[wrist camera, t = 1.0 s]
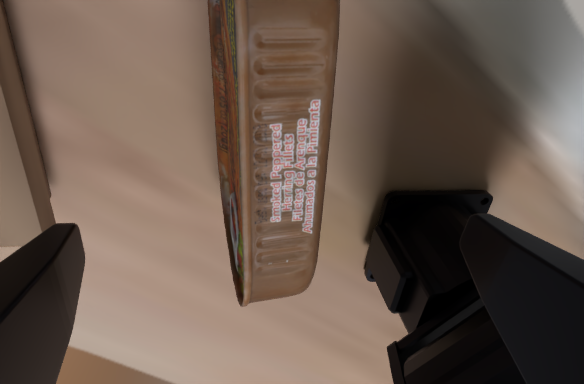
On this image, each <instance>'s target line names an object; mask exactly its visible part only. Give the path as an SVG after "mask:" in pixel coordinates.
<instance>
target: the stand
mask: <svg viewBox="0 0 584 384" xmlns="http://www.w3.org/2000/svg"><path fill="white" fill-rule="evenodd" d="M50 197H51V193H50V189H49V185H48V181H47V177H46V173H45V169H44V165H43V161H42V157H41V153H40V149H39V145H38V141H37V137H36V133H35V128H34V124H33V120H32V116H31V112H30V108H29V104H28V100H27V96H26V92H25V88H24V84H23V80H22V76H21V72H20V68H19V64H18V60H17V56H16V52H15V48H14V44H13V40H12V36H11V32H10V28H9V24H8V20H7V16H6V12H5V8H4V4H3V0H0V247H15V246H24V245H25V244H27V243H28V242H29V241H31V240H32V239H34V238H35V237H36V236H38V235H39V234H41V233H42V232H43V231H45V230H46V229H48V228H49V227H50V226H52V225H54V224H56V222H55V218H54V214H53V210H52V206H51V203H50Z"/></svg>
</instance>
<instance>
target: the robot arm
mask: <svg viewBox="0 0 584 384" xmlns="http://www.w3.org/2000/svg"><path fill="white" fill-rule="evenodd" d="M394 199H397V200H396V201H395V202H392V201H393V200H394ZM482 199H483V200H482ZM481 200H482V201H481ZM492 201H493V197H492V195H491V194H490V193H489V192H487V191H485V190H457V191H392V192H390V193H388V194H387V195H386V197H385V199H384V202H383V206H382V210H381V213H380V217H379V221H378V224H377V226H376V227H375V228H374V230H373V234H372V238H371V241H370V245H369V249H368V252H367V256H366V262H367V265H366V268H365V276H366V278H367V280H368V281H370V282H376V284H377V286H378V288H379V290H380V292H381V294H382V296H383V299H384V301H385V303H386V305H387V307H388V309H389V310H390V311H391V312H392V313H393V314H394V313H399V315H400V317H401V319H402V321H403V323H404V326H405V328H406V330H407V332H408V335H406V336H405V337H403V338H402V339H401V340H399V341H398V342H397V341H395V342H393V343H392V344H390V345H389V346H387V352H388V357H389V362H390V368H391V373H392V378H393V382H394V384H584V260H583V259H581V258H579V257H577V256H575V255H573V254H571V253H569V252H567V251H565V250H562V249H560V248H558V247H556V246H554V245H552V244H550V243H548V242H546V241H544V240H542V239H540V238H538V237H536V236H534V235H532V234H530V233H528V232H526V231H524V230H522V229H519V228H517V227H515V226H513V225H511V224H509V223H507V222H505V221H503V220H501V219H499V218H497V217H495V216H493V215H491V214H487V212H488V210H489V208H490V206H491V203H492ZM84 266H85V252H84V248H83V243H82V239H81V234H80V230H79V227H78V225H77V224H75V223H57V224H54V225H52V226H50V227H49V228H48V229H46V230H45V231H43V232H42V233H41V234H39V235H38V236H36V237H35V238H34V239H32V240H31V241H29V242H28V243H27V244H25V245H24V246H22V247H21V248H20V249H18V250H17V251H15V252H14V253H13V254H11V255H10V256H8V257H7V258H6V259H4V260H3V261H1V262H0V384H56V381H57V378H58V375H59V372H60V369H61V366H62V363H63V359H64V356H65V353H66V350H67V347H68V344H69V341H70V337H71V334H72V330H73V325H74V320H75V315H76V310H77V304H78V299H79V293H80V288H81V282H82V277H83V271H84Z"/></svg>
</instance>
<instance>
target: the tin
mask: <svg viewBox="0 0 584 384" xmlns="http://www.w3.org/2000/svg"><path fill="white" fill-rule="evenodd" d="M208 14H209V30H210V44H211V60H212V76H213V93H214V108H215V125H216V140H217V155H218V167H219V174H220V189H221V198H222V206H223V214H224V223H225V229H226V237H227V243H228V249H229V256H230V263H231V270H232V274H233V281H234V285H235V289H236V295H237V299H238V302H239V304H240V306H241V307H244V306H247V305H248V304H249V303H252V302H259V301H265V300H271V299H277V298H283V297H288V296H293V295H297V294H300V293H302V292H303V291H305V290H306V289H307V288H308V287H309V285H310V283H311V281H312V278H313V276H314V272H315V268H316V264H317V257H318V248H319V239H320V230H321V221H322V211H323V200H324V191H325V180H326V172H327V159H328V150H329V140H330V128H331V118H332V105H333V97H334V83H335V73H336V61H337V49H338V37H339V14H340V0H208Z"/></svg>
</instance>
